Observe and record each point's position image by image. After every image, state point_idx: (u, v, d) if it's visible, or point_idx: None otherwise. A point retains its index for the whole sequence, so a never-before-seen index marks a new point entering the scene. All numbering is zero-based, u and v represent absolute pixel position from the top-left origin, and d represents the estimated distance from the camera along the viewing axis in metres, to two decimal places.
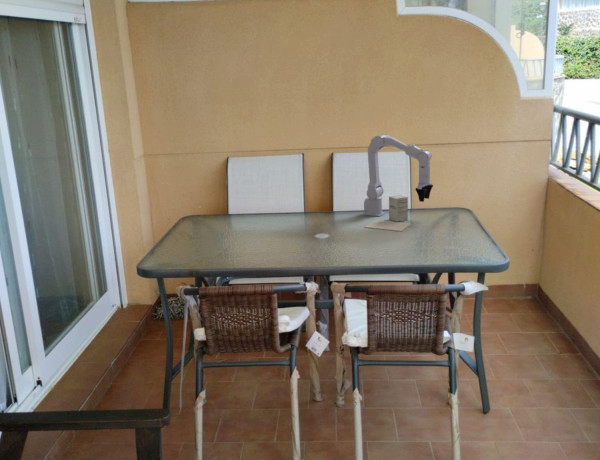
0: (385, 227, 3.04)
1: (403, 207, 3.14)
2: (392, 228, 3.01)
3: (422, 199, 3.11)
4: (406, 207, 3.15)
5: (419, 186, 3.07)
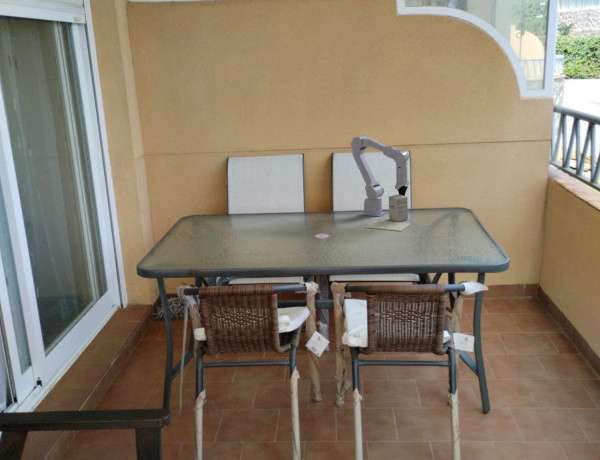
0: (385, 227, 3.04)
1: (403, 207, 3.13)
2: (392, 228, 3.01)
3: None
4: (406, 207, 3.14)
5: (396, 186, 3.12)
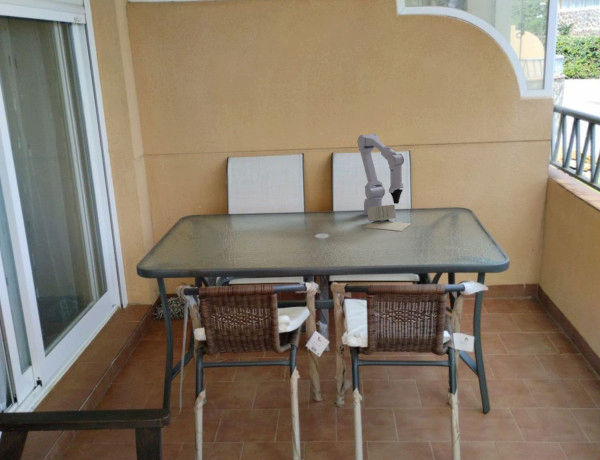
0: (385, 227, 3.04)
1: (383, 211, 3.10)
2: (392, 228, 3.01)
3: (396, 201, 3.12)
4: (383, 207, 3.11)
5: (390, 190, 3.06)
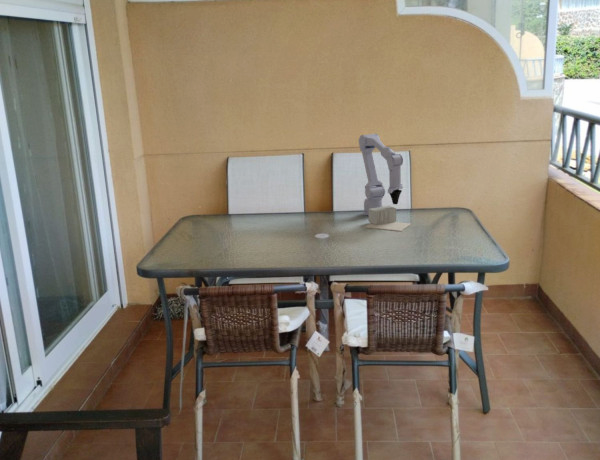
0: (385, 227, 3.04)
1: (384, 215, 3.09)
2: (392, 228, 3.01)
3: (395, 202, 3.11)
4: (384, 211, 3.09)
5: (389, 190, 3.05)
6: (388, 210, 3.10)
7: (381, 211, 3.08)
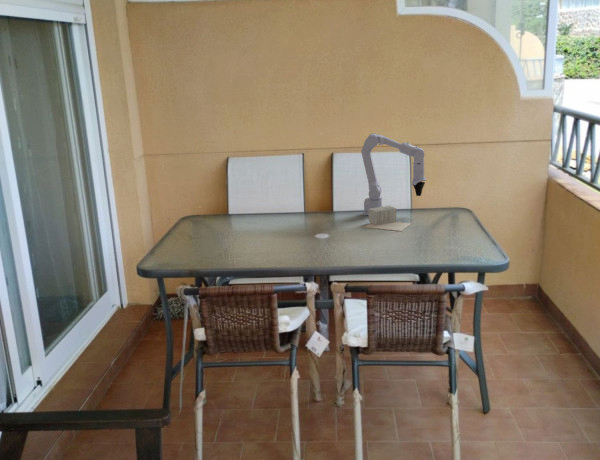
0: (385, 227, 3.04)
1: (384, 215, 3.09)
2: (392, 228, 3.01)
3: (419, 193, 3.23)
4: (384, 211, 3.09)
5: (413, 182, 3.16)
6: (388, 210, 3.10)
7: (381, 211, 3.08)
